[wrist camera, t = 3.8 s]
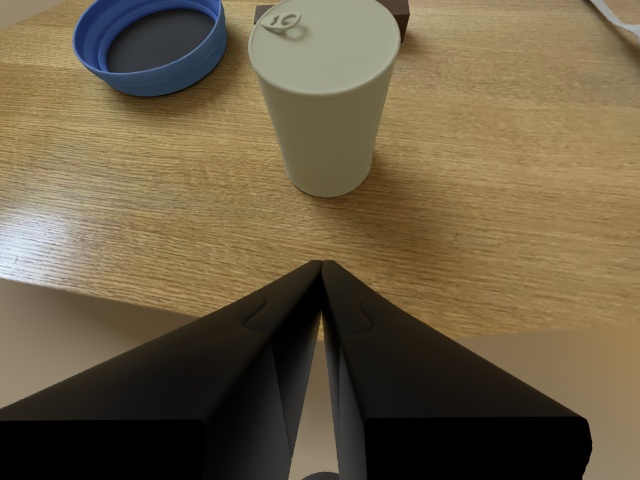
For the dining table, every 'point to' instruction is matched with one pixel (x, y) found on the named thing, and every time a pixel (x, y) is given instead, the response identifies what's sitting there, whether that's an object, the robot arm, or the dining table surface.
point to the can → (325, 86)
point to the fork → (602, 7)
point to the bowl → (151, 43)
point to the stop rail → (394, 3)
